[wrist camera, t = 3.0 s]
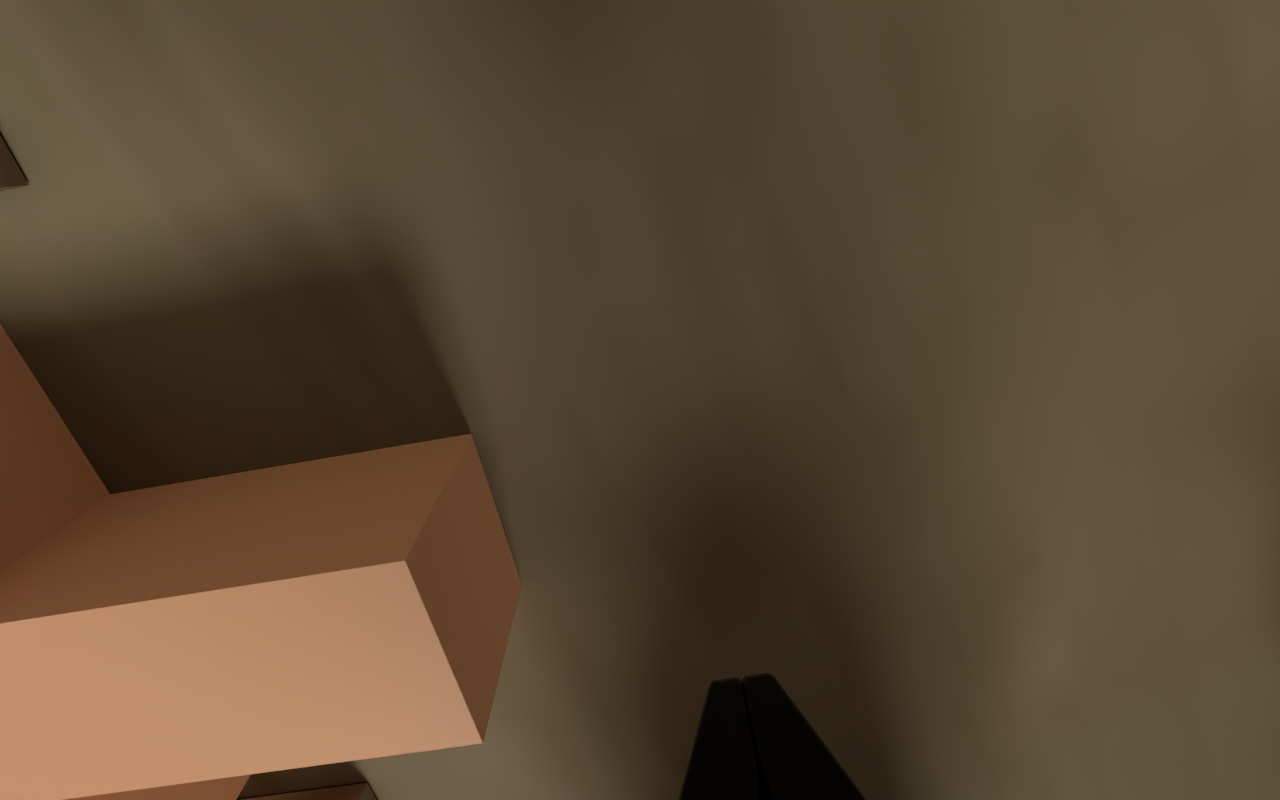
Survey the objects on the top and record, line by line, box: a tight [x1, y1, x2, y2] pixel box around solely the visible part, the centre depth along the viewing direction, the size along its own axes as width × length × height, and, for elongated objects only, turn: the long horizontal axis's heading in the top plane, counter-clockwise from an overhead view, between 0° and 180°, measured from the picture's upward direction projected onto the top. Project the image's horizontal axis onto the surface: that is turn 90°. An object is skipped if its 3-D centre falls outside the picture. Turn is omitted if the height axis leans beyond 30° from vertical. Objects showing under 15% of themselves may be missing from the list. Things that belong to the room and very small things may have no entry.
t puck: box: [0, 324, 521, 800], centre depth 12 cm, size 12×12×4 cm
